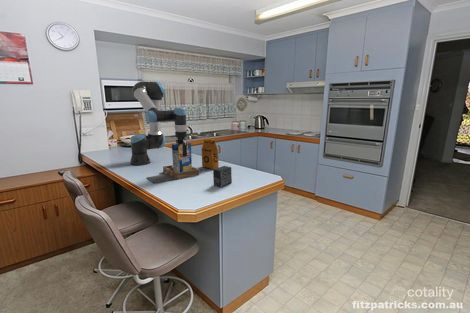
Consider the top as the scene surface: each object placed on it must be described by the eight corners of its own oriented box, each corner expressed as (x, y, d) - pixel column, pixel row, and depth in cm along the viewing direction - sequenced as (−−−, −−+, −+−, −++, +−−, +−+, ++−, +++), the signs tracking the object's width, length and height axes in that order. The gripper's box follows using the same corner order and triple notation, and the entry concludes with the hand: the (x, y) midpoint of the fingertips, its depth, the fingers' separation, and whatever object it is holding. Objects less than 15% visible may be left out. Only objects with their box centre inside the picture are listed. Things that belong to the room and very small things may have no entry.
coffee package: (211, 170, 185) (211, 141, 180) (200, 167, 193) (199, 139, 188) (220, 167, 192) (220, 139, 187) (209, 164, 200) (208, 137, 195)
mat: (146, 178, 167) (146, 177, 167) (166, 174, 175) (166, 173, 175) (153, 183, 156) (153, 182, 156) (175, 179, 164) (175, 178, 164)
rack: (163, 171, 181) (163, 166, 180) (184, 168, 191) (184, 163, 190) (176, 179, 164) (175, 173, 163) (199, 175, 174) (198, 169, 173)
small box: (224, 181, 162) (224, 165, 159) (232, 183, 158) (232, 167, 155) (212, 185, 154) (212, 168, 151) (220, 187, 150) (220, 170, 147)
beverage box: (173, 175, 173) (171, 144, 168) (185, 172, 181) (184, 141, 176) (180, 177, 168) (178, 145, 163) (192, 173, 177) (191, 143, 172)
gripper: (170, 130, 172) (172, 163, 177) (180, 132, 160) (182, 168, 165) (180, 129, 176) (182, 161, 181) (191, 131, 164) (192, 166, 169)
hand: (182, 164), depth 173 cm, fingers closed on beverage box, 3 cm apart
